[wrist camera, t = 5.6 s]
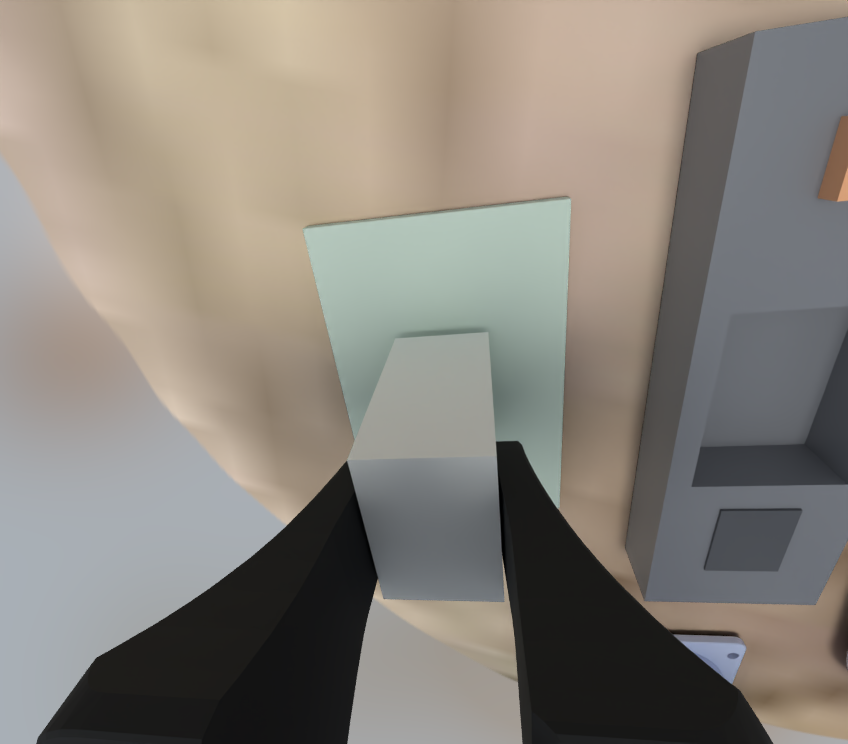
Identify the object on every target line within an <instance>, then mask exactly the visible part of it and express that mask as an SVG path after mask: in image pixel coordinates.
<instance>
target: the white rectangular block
mask: <svg viewBox="0 0 848 744" xmlns="http://www.w3.org/2000/svg"><path fill="white" fill-rule="evenodd" d="M347 462H348V466H349V469H350V473H351V477H352V481H353V485H354V488H355V492H356V496H357V500H358V504H359V507H360V511H361V515H362V519H363V523H364V526H365V530H366V534H367V538H368V541H369V545H370V549H371V553H372V557H373V560H374V564H375V568H376V572H377V576H378V579H379V583H380V587H381V591H382V595H383V598H384V599H403V600H445V601H487V602H504V585H503V566H502V547H501V528H500V509H499V490H498V471H497V453H496V438H495V423H494V408H493V393H492V379H491V364H490V349H489V334H488V332H481V333H467V334H453V335H438V336H424V337H410V338H395V341H394V343H393V346H392V348H391V351H390V353H389V356H388V358H387V361H386V363H385V366H384V368H383V371H382V373H381V376H380V378H379V381H378V383H377V386H376V388H375V391H374V393H373V396H372V398H371V401H370V404H369V406H368V409H367V411H366V414H365V416H364V419H363V421H362V424H361V426H360V429H359V431H358V434H357V436H356V439H355V441H354V444H353V446H352V449H351V451H350V454H349V456H348V459H347Z"/></svg>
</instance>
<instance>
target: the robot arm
mask: <svg viewBox="0 0 848 744" xmlns="http://www.w3.org/2000/svg"><path fill="white" fill-rule="evenodd" d="M496 453H497V471H498V490H499V509H500V528H501V547H502V556H503V563H504V569H505V575H506V581H507V588H508V594H509V600H510V607H511V613H512V619H513V627H514V636H515V646H516V660H517V673H518V687H519V700H520V714H521V726H522V727H521V728H522V740H523V741H522V742H523V744H773V742H772V741H771V739H770V737H769V736H768V734H767V732H766V731H765V729H764V728H763V726H762V724H761V723H760V721H759V719H758V718H757V716H756V715H755V713H754V711H753V710H752V708H751V707H750V705H749V704H748V702H747V701H746V699H745V698H744V696H743V695H742V693H741V692H740V690H739V689H737V688H736V687H735V686H734V685H732V683H733V680H734V678H735V676H736V673H737V671H738V668H739V666H740V663H741V661H742V658H743V656H744V653H745V651H746V646H745V644H744V642H743V641H742V639H740V638H738V637H734V636H707V635H676V634H672V633H671V632H669V631H668V630H667V629H666V628H665V627H664V626H663V625H662V624H661V623H659V622H658V621H657V620H656V619H655V618H654V617H653V616H652V615H651V614H650V613H649V612H648V611H647V610H646V609H645V608H644V607H643V606H642V605H641V604H640V603H639V602H638V601H637V600H636V599H635V598H634V597H633V596H632V595H631V594H630V593H629V592H627V591H626V590H625V589H624V588H623V587H622V586H621V585H620V584H619V583H618V582H617V581H616V579H615V578H614V577H613V576H612V575H611V574H610V573H609V572H608V571H607V570H606V569H605V567H604V566H603V565H602V564H601V563H600V562H599V561H598V560H597V559H596V557H595V556H594V555H593V554H592V553H591V552H590V550H589V549H588V548H587V547H586V546H585V544H584V543H583V542H582V541H581V539H580V538H579V537H578V536H577V534H576V533H575V532H574V531H573V529H572V528H571V527H570V525H569V524H568V523H567V521H566V520H565V518H564V517H563V516H562V514H561V513H560V512H559V510H558V509H557V507H556V506H555V504H554V503H553V501H552V500H551V498H550V497H549V495H548V493H547V492H546V490H545V489H544V487H543V486H542V484H541V482H540V481H539V479H538V477H537V475H536V474H535V472H534V470H533V468H532V466H531V464H530V462H529V460H528V458H527V456H526V454H525V451H524V449H523V446H522V444H521V443H520V442H519V441H496ZM377 579H378V576H377V572H376V568H375V564H374V560H373V557H372V553H371V549H370V545H369V541H368V538H367V534H366V530H365V526H364V523H363V519H362V515H361V511H360V507H359V504H358V500H357V496H356V492H355V488H354V485H353V481H352V477H351V473H350V469H349V466H348V462H347V461H346V462H345V464H344V465H343V466H342V467H341V468H340V469H339V471H338V472H337V473H336V474H335V475H334V476H333V477H332V479H331V480H330V481H329V482H328V483H327V484H326V485H325V486H324V488H323V489H322V490H321V491H320V492H319V493H318V494H317V495H316V496H315V497H314V499H313V500H312V501H311V502H310V503H309V504H308V505H307V506H306V507H305V508H304V509H303V510H302V511H301V512H300V513H299V514H298V515H297V516H296V517H295V518H294V519H293V520H292V521H291V522H290V523H289V524H288V525H287V526H286V527H285V528H284V529H283V530H282V531H281V532H280V533H278V534H277V535H276V536H275V537H274V538H273V539H272V540H271V541H270V542H268V543H267V544H266V545H265V546H264V547H263V548H261V549H260V550H259V551H258V552H257V553H255V555H253V556H252V557H251V558H249V559H248V560H247V561H245V562H244V563H243V564H241V565H240V566H239V567H238V568H236V569H235V570H234V571H233V572H231V573H230V574H228V575H227V576H226V577H224V578H223V579H222V580H220V581H219V582H218V583H216V584H215V585H214V586H212V587H211V588H210V589H208V590H207V591H205V592H204V593H202V594H201V595H199V596H198V597H196V598H195V599H193V600H192V601H191V602H189V603H188V604H186V605H185V606H183V607H181V608H180V609H178V610H177V611H175V612H174V613H172V614H170V615H169V616H168V617H166V618H164V619H163V620H161V621H159V622H158V623H156V624H155V625H153V626H151V627H149V628H148V629H146V630H144V631H143V632H141V633H139V634H137V635H136V636H134V637H132V638H130V639H129V640H127V641H125V642H124V643H122V644H120V645H118V646H117V647H115V648H113V649H111V650H110V651H108V652H106V653H104V654H102V655H101V656H99V657H97V658H96V659H95V661H94V662H93V663H92V664H91V666H90V667H89V668H88V670H87V671H86V672H85V674H84V675H83V677H82V678H81V679H80V681H79V682H78V683H77V685H76V686H75V688H74V689H73V690H72V692H71V693H70V694H69V696H68V697H67V698H66V700H65V702H64V703H63V704H62V705H61V707H60V708H59V709H58V711H57V712H56V714H55V715H54V716H53V718H52V719H51V720H50V722H49V723H48V725H47V726H46V727H45V729H44V730H43V732H42V733H41V734H40V736H39V737H38V740H37V743H36V744H347V741H348V734H349V726H350V719H351V712H352V706H353V699H354V692H355V685H356V679H357V672H358V666H359V660H360V654H361V648H362V641H363V636H364V631H365V627H366V622H367V618H368V613H369V610H370V606H371V602H372V598H373V594H374V591H375V587H376V583H377Z"/></svg>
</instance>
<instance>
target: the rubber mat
mask: <svg viewBox="0 0 848 744" xmlns="http://www.w3.org/2000/svg"><path fill="white" fill-rule="evenodd" d="M570 216H571V198H569V197H559V198H550V199H542V200H533V201H524V202H515V203H506V204H498V205H489V206H480V207H471V208H462V209H454V210H445V211H436V212H427V213H418V214H409V215H401V216H392V217H383V218H374V219H365V220H357V221H348V222H339V223H330V224H321V225H313V226H307V227H305V228H303V233H304V237H305V241H306V245H307V249H308V253H309V257H310V261H311V265H312V269H313V273H314V277H315V282H316V286H317V290H318V294H319V298H320V302H321V306H322V310H323V314H324V318H325V322H326V326H327V330H328V334H329V338H330V342H331V346H332V351H333V355H334V359H335V363H336V367H337V371H338V375H339V379H340V383H341V387H342V391H343V395H344V399H345V403H346V407H347V411H348V416H349V420H350V424H351V428H352V432H353V436H354V440H355V439H356V436H357V434H358V431H359V429H360V426H361V424H362V421H363V419H364V416H365V414H366V411H367V409H368V406H369V404H370V401H371V398H372V396H373V393H374V391H375V388H376V386H377V383H378V381H379V378H380V376H381V373H382V371H383V368H384V366H385V363H386V361H387V358H388V356H389V353H390V351H391V348H392V346H393V343H394V341H395V338H410V337H424V336H438V335H453V334H467V333H481V332H488V334H489V349H490V364H491V379H492V393H493V408H494V423H495V438H496V441H519V442H520V443H521V444H522V446H523V449H524V451H525V454H526V456H527V458H528V460H529V462H530V464H531V466H532V468H533V470H534V472H535V474H536V475H537V477H538V479H539V481H540V482H541V484H542V486H543V487H544V489H545V490H546V492H547V493H548V495H549V497H550V498H551V500H552V501H553V503H554V504H555V506H556V507H557V508H559V504H560V478H561V451H562V425H563V399H564V373H565V347H566V320H567V294H568V268H569V242H570Z"/></svg>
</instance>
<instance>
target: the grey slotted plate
mask: <svg viewBox="0 0 848 744" xmlns="http://www.w3.org/2000/svg"><path fill="white" fill-rule="evenodd" d="M847 541H848V17H844V18H838V19H831V20H825V21H819V22H812V23H806V24H800V25H794V26H787V27H781V28H775V29H768V30H762V31H756V32H753V33H750V34H748V35H745V36H742V37H740V38H737V39H734V40H732V41H729V42H726V43H724V44H721V45H718V46H716V47H713V48H710V49H708V50H705V51H702V52H700V53H698V55H697V61H696V68H695V75H694V82H693V89H692V95H691V102H690V109H689V116H688V123H687V130H686V136H685V143H684V150H683V157H682V164H681V171H680V177H679V184H678V191H677V198H676V205H675V211H674V218H673V225H672V232H671V239H670V246H669V252H668V259H667V266H666V273H665V280H664V286H663V293H662V300H661V307H660V314H659V321H658V327H657V334H656V341H655V348H654V355H653V361H652V368H651V375H650V382H649V389H648V396H647V402H646V409H645V416H644V423H643V430H642V437H641V443H640V450H639V457H638V464H637V471H636V477H635V484H634V491H633V498H632V505H631V512H630V518H629V525H628V532H627V539H626V546H625V549H626V552H627V554H628V557H629V560H630V563H631V565H632V568H633V571H634V574H635V576H636V579H637V582H638V584H639V587H640V590H641V593H642V595H643V598H644V601H662V602H706V603H751V604H796V605H816V603H817V601H818V599H819V597H820V595H821V593H822V591H823V589H824V587H825V585H826V583H827V581H828V579H829V577H830V575H831V573H832V571H833V569H834V567H835V565H836V563H837V561H838V559H839V557H840V555H841V553H842V551H843V549H844V547H845V545H846V543H847Z"/></svg>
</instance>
